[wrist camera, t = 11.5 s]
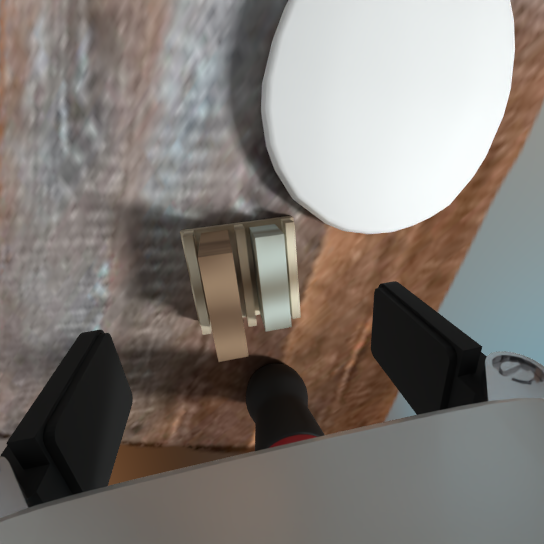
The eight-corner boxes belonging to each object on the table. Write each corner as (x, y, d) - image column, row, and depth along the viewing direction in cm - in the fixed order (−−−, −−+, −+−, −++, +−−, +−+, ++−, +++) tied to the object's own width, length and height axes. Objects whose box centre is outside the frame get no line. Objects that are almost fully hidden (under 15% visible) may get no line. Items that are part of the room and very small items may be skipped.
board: (200, 233, 34) (197, 257, 26) (227, 229, 35) (232, 252, 26) (216, 317, 38) (218, 362, 30) (240, 313, 39) (248, 356, 31)
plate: (479, 236, 37) (264, 245, 33) (443, 220, 43) (256, 226, 38) (595, -92, 25) (270, -151, 20) (522, -53, 30) (257, -92, 26)
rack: (180, 230, 35) (175, 243, 29) (291, 215, 37) (305, 226, 31) (199, 320, 39) (197, 347, 34) (297, 304, 41) (310, 327, 35)
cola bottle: (289, 406, 47) (399, 759, 20) (236, 400, 45) (277, 789, 17) (308, 362, 45) (463, 691, 17) (253, 352, 42) (332, 716, 15)
